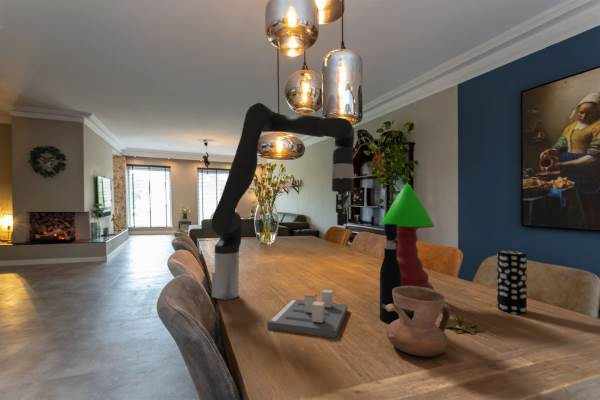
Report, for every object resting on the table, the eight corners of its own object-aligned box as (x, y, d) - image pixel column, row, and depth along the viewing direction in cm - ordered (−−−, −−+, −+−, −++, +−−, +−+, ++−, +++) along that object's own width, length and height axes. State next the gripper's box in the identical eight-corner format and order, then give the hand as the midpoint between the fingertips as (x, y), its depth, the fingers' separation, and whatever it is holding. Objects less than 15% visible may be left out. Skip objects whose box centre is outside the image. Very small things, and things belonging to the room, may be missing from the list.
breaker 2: (321, 306, 99) (322, 291, 99) (323, 303, 102) (323, 289, 102) (330, 307, 98) (331, 292, 98) (332, 304, 101) (332, 290, 101)
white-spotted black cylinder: (523, 308, 106) (523, 251, 106) (529, 316, 98) (529, 255, 99) (495, 304, 109) (495, 249, 110) (499, 312, 102) (499, 253, 102)
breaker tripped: (304, 312, 94) (304, 295, 94) (307, 308, 97) (307, 292, 97) (314, 313, 93) (314, 296, 93) (316, 309, 96) (316, 293, 96)
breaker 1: (311, 321, 86) (312, 304, 87) (314, 317, 89) (314, 301, 89) (322, 322, 86) (322, 305, 86) (324, 318, 88) (324, 302, 89)
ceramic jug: (399, 366, 67) (401, 303, 67) (372, 337, 82) (374, 284, 82) (470, 361, 71) (472, 300, 71) (432, 333, 85) (434, 283, 85)
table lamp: (370, 297, 118) (370, 182, 118) (397, 288, 131) (398, 184, 131) (418, 310, 103) (418, 179, 103) (443, 299, 116) (444, 182, 116)
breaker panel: (267, 328, 87) (267, 321, 87) (291, 304, 108) (291, 298, 108) (335, 338, 81) (335, 330, 81) (347, 310, 102) (347, 304, 102)
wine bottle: (401, 317, 97) (401, 223, 97) (400, 325, 90) (401, 225, 91) (380, 315, 99) (380, 223, 99) (378, 322, 93) (379, 224, 93)
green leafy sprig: (464, 319, 97) (464, 305, 97) (494, 335, 85) (494, 319, 85) (430, 321, 95) (430, 307, 95) (456, 338, 83) (456, 322, 83)
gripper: (335, 179, 112) (334, 223, 112) (328, 176, 99) (327, 225, 99) (355, 179, 110) (355, 223, 110) (351, 175, 97) (351, 226, 96)
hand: (342, 224), depth 104 cm, fingers open, 8 cm apart
